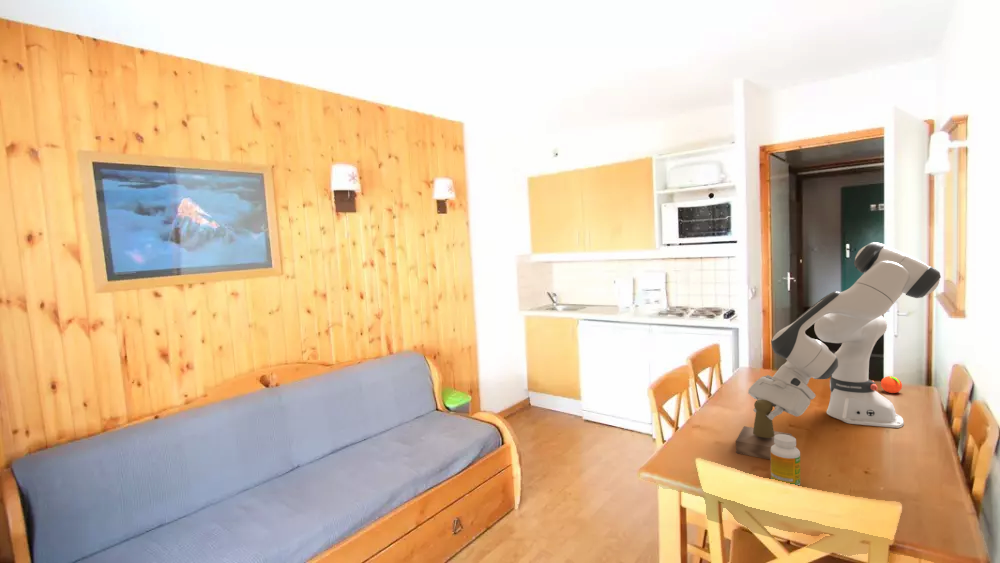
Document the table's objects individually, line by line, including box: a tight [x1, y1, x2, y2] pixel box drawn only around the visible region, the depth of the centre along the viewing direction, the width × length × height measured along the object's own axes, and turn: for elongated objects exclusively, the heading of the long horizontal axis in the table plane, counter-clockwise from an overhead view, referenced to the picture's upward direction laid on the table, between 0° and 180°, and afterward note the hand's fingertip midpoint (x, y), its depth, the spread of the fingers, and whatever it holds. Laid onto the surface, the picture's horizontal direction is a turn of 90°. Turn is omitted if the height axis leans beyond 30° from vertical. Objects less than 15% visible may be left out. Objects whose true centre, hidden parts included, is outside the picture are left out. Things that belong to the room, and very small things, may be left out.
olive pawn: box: [753, 399, 775, 438], centre depth 155 cm, size 6×6×11 cm
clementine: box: [880, 375, 903, 394], centre depth 200 cm, size 8×7×7 cm
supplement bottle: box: [770, 434, 801, 486], centre depth 134 cm, size 7×7×13 cm
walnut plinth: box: [735, 426, 793, 461], centre depth 155 cm, size 14×14×4 cm
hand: (762, 415), depth 155 cm, fingers closed on olive pawn, 4 cm apart
